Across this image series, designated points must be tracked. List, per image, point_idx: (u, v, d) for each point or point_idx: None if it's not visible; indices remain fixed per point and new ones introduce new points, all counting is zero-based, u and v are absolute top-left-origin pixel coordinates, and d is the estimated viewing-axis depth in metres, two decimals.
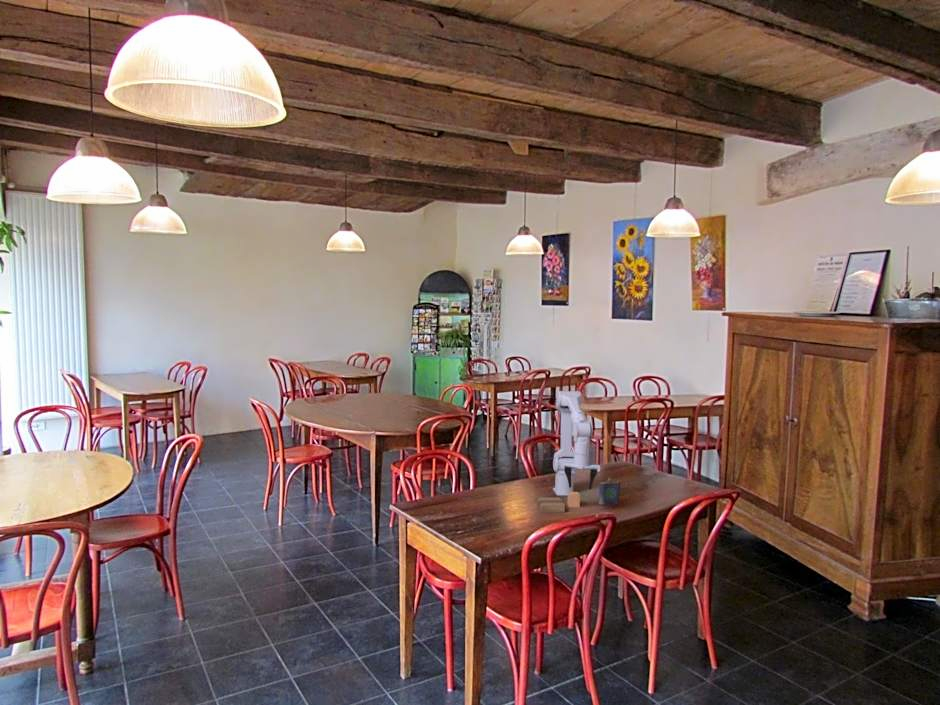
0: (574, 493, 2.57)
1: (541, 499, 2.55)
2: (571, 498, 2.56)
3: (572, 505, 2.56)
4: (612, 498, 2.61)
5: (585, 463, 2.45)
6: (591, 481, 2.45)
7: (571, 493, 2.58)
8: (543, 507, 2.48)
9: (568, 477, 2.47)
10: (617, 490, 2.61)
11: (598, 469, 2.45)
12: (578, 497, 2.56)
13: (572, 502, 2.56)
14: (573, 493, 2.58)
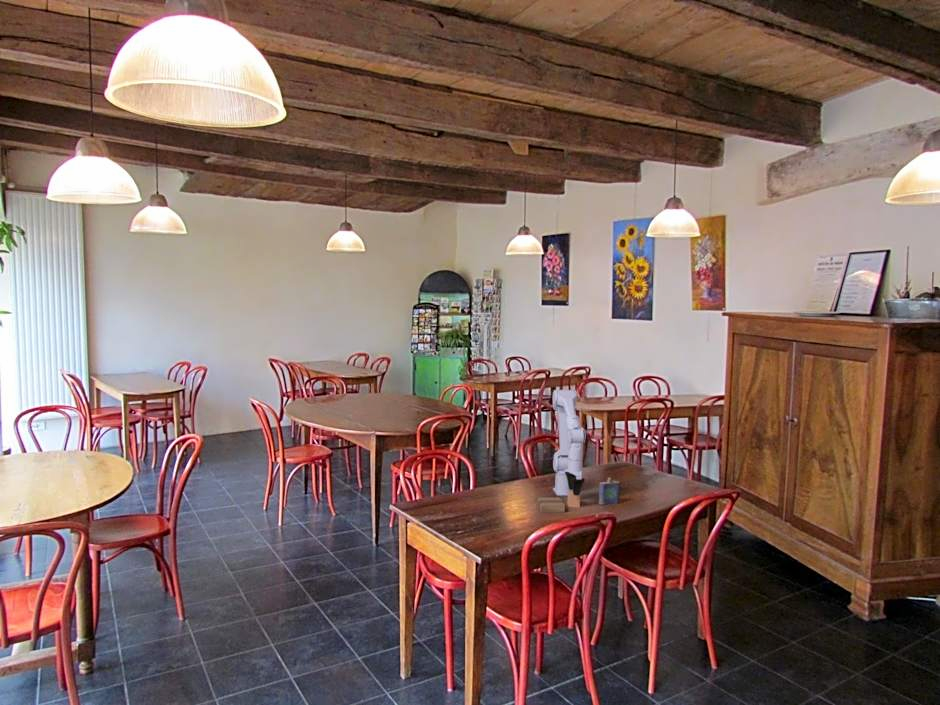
0: None
1: (541, 499, 2.55)
2: (571, 498, 2.56)
3: (572, 505, 2.56)
4: (612, 498, 2.61)
5: (570, 467, 2.55)
6: (572, 487, 2.53)
7: (571, 493, 2.58)
8: (543, 507, 2.48)
9: (567, 479, 2.62)
10: (617, 490, 2.61)
11: (576, 477, 2.50)
12: (578, 497, 2.56)
13: (572, 502, 2.56)
14: None
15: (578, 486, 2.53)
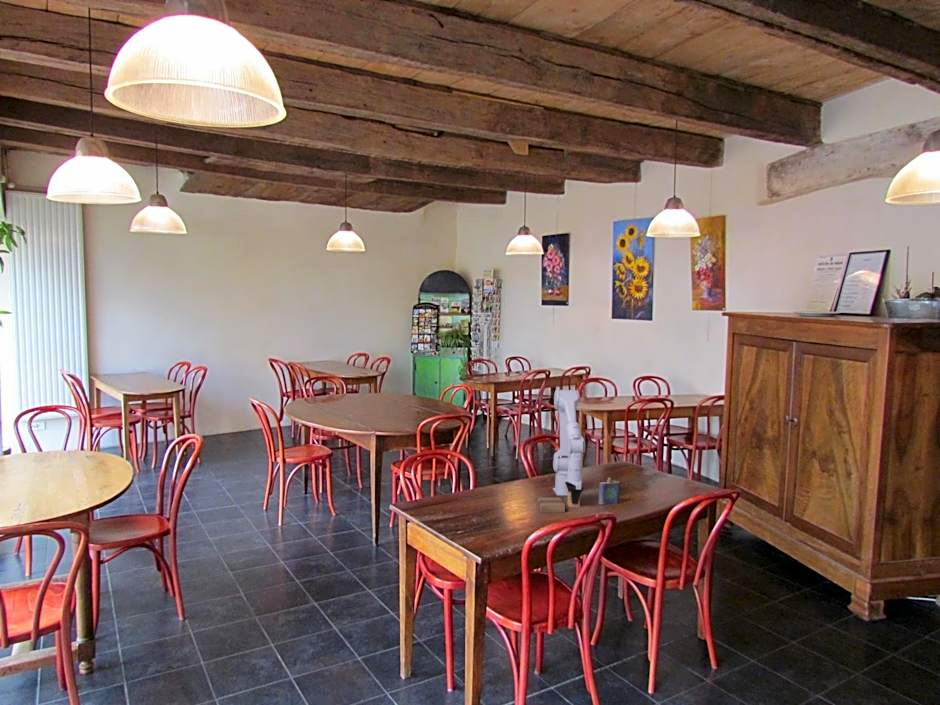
0: None
1: (541, 499, 2.55)
2: None
3: (572, 505, 2.56)
4: (612, 498, 2.61)
5: (570, 477, 2.55)
6: (571, 495, 2.55)
7: None
8: (543, 507, 2.48)
9: (567, 489, 2.60)
10: (617, 490, 2.61)
11: (575, 487, 2.51)
12: None
13: None
14: None
15: (577, 495, 2.55)
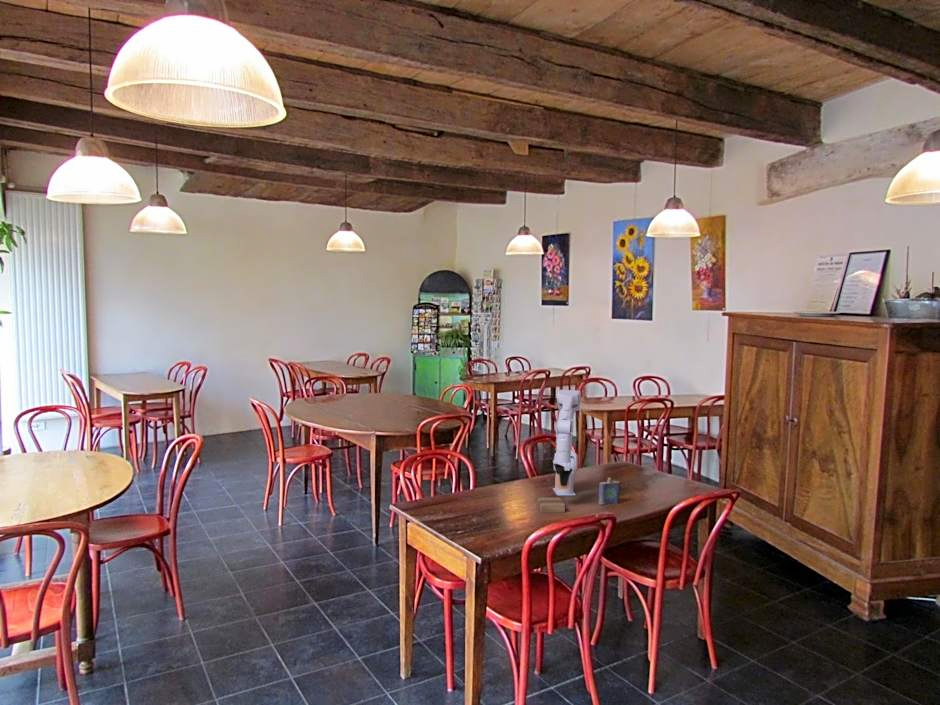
0: None
1: (541, 499, 2.55)
2: None
3: (561, 487, 2.53)
4: (612, 498, 2.61)
5: (558, 458, 2.52)
6: (560, 477, 2.51)
7: None
8: (543, 507, 2.48)
9: (556, 471, 2.57)
10: (617, 490, 2.61)
11: (564, 468, 2.47)
12: None
13: None
14: None
15: (565, 476, 2.52)
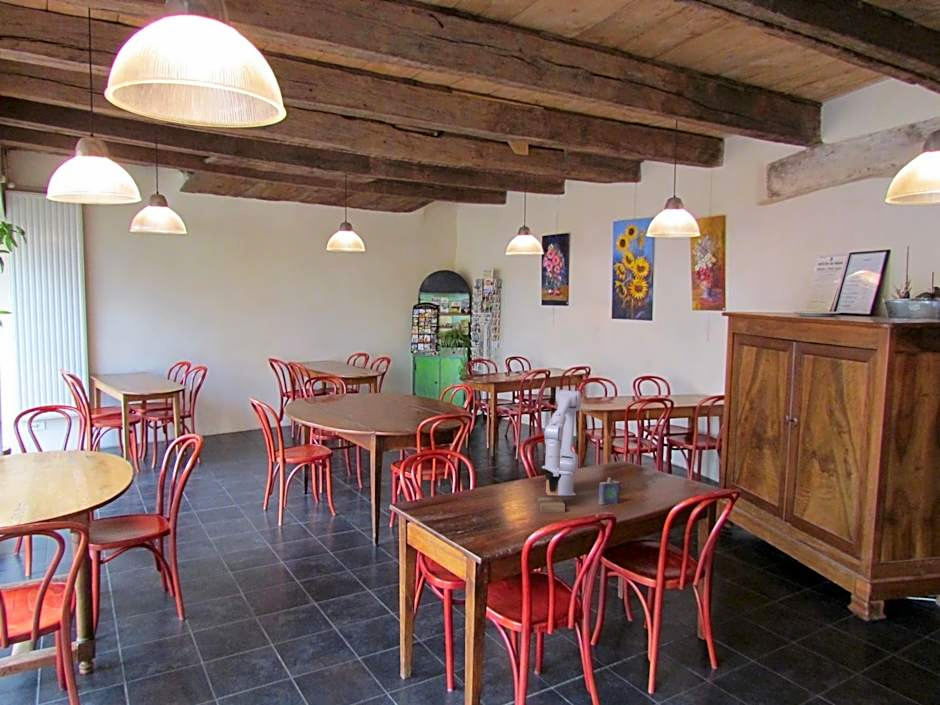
0: None
1: (541, 499, 2.55)
2: None
3: (550, 493, 2.51)
4: (612, 498, 2.61)
5: (547, 464, 2.50)
6: (549, 483, 2.50)
7: None
8: (543, 507, 2.48)
9: None
10: (617, 490, 2.61)
11: (553, 473, 2.45)
12: (557, 485, 2.51)
13: None
14: None
15: (554, 482, 2.50)
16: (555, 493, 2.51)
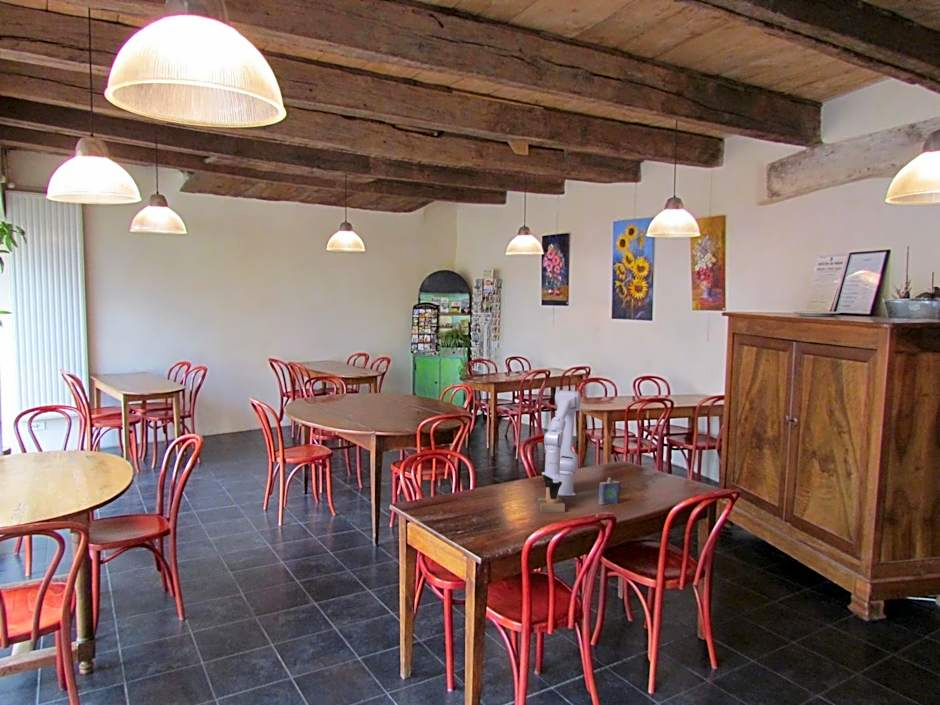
0: None
1: (541, 499, 2.55)
2: (549, 493, 2.51)
3: (550, 501, 2.51)
4: (612, 498, 2.61)
5: (547, 470, 2.50)
6: (549, 490, 2.48)
7: None
8: (543, 507, 2.48)
9: (545, 482, 2.57)
10: (617, 490, 2.61)
11: (553, 480, 2.46)
12: None
13: (550, 498, 2.51)
14: None
15: (555, 489, 2.48)
16: (555, 501, 2.51)
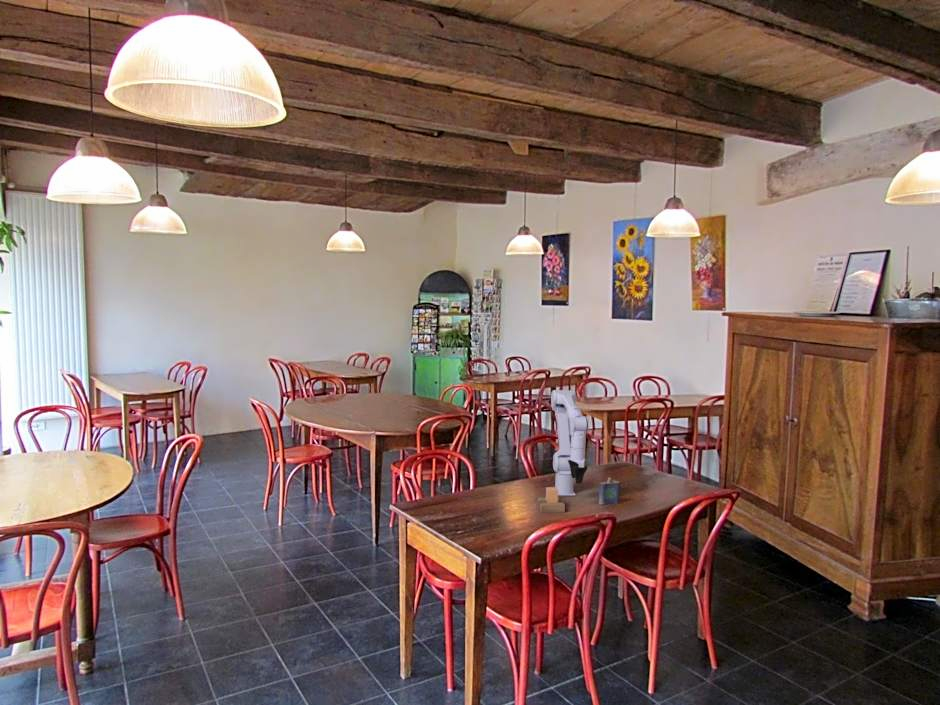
0: (552, 489, 2.52)
1: (541, 499, 2.55)
2: (549, 493, 2.51)
3: (550, 501, 2.51)
4: (612, 498, 2.61)
5: (573, 455, 2.54)
6: (575, 475, 2.52)
7: (549, 488, 2.53)
8: (543, 507, 2.48)
9: (570, 467, 2.61)
10: (617, 490, 2.61)
11: (578, 465, 2.49)
12: (556, 492, 2.51)
13: (550, 498, 2.51)
14: (551, 488, 2.53)
15: (580, 474, 2.52)
16: (555, 501, 2.51)
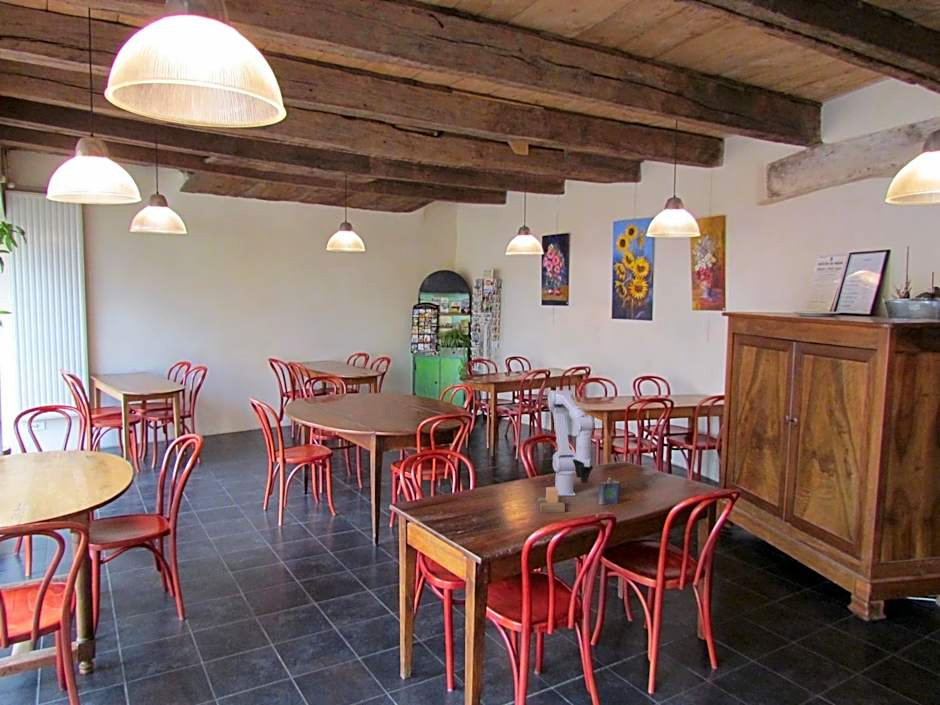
0: (552, 489, 2.52)
1: (541, 499, 2.55)
2: (549, 493, 2.51)
3: (550, 501, 2.51)
4: (612, 498, 2.61)
5: (578, 455, 2.55)
6: (580, 474, 2.53)
7: (549, 488, 2.53)
8: (543, 507, 2.48)
9: (575, 466, 2.61)
10: (617, 490, 2.61)
11: (584, 464, 2.50)
12: (556, 492, 2.51)
13: (550, 498, 2.51)
14: (551, 488, 2.53)
15: (586, 474, 2.53)
16: (555, 501, 2.51)
